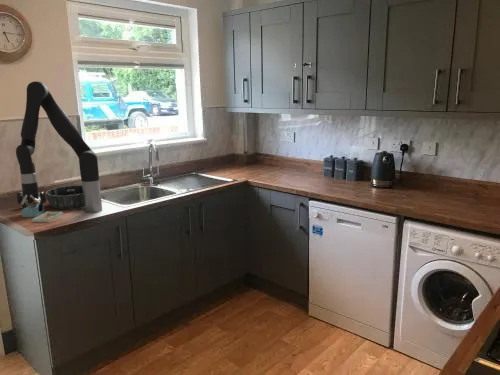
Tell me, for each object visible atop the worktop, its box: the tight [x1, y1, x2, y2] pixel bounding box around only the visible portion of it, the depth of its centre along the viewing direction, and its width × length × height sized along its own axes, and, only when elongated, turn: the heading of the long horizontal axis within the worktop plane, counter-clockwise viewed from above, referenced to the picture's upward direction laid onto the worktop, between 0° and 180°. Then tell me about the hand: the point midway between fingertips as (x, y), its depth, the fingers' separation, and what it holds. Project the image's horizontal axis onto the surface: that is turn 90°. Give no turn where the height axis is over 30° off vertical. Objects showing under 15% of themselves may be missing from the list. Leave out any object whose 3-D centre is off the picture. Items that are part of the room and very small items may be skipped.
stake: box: [28, 204, 45, 217], centre depth 222 cm, size 8×8×6 cm
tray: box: [31, 211, 64, 223], centre depth 214 cm, size 14×9×2 cm, turn 176°
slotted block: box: [21, 204, 45, 218], centre depth 222 cm, size 11×6×4 cm, turn 176°
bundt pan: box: [45, 184, 84, 211], centre depth 240 cm, size 26×26×10 cm
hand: (33, 211), depth 222 cm, fingers open, 8 cm apart
